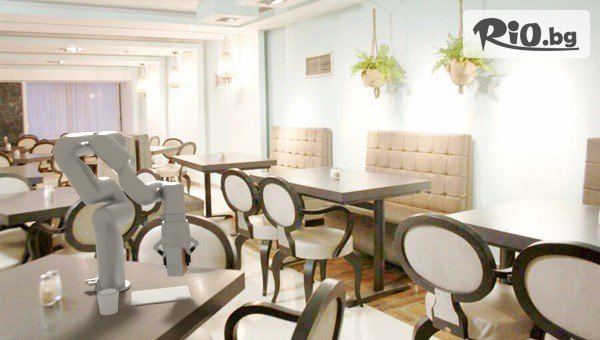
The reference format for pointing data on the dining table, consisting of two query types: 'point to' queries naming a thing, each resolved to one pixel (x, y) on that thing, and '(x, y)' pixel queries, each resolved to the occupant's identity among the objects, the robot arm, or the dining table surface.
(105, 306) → the shot glass
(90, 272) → the dining table surface
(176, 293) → the mat
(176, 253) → the small box
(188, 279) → the dining table surface
